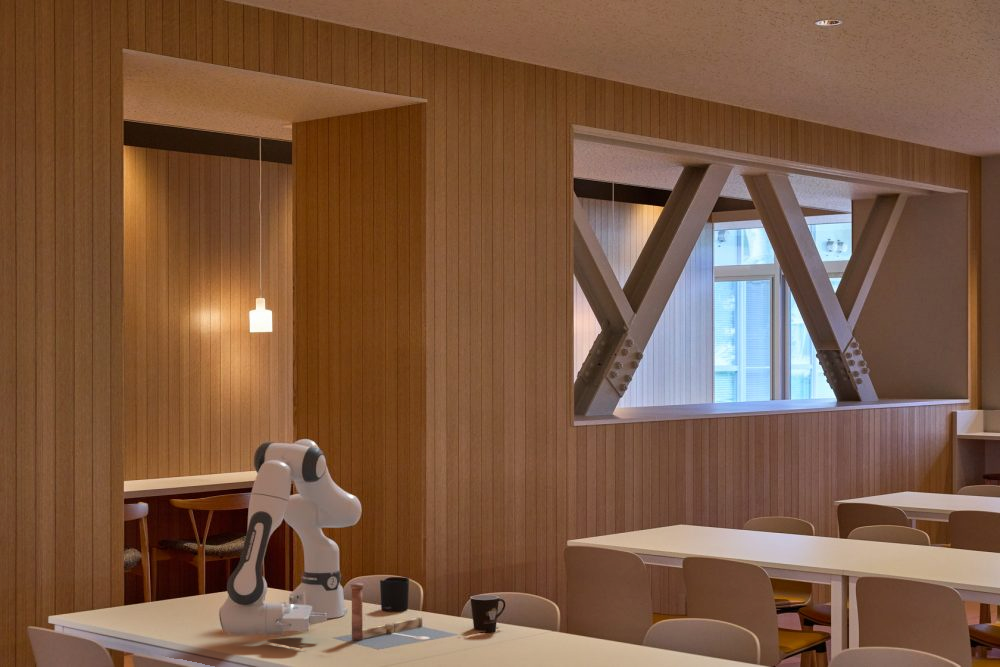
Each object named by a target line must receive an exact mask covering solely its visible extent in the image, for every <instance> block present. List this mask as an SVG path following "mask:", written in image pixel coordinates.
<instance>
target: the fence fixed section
mask: <svg viewBox="0 0 1000 667" xmlns="http://www.w3.org/2000/svg"><path fill="white" fill-rule="evenodd" d="M384 625H386V634H391V633H394V632H397V631H402V630H406V629H411V628H415V627H423V617H415V618H411V619H405V620H402V621H396V622H393V623H385V624H384Z"/></svg>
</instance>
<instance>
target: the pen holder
mask: <svg viewBox="0 0 1000 667" xmlns="http://www.w3.org/2000/svg"><path fill="white" fill-rule="evenodd" d="M379 582H380V583H379V584H380V587H379V588H380V606H381V607H380V608H381V610H382V612H387V613H399V612H405V611H408V609H409V592H410V591H409V590H410V589H409V588H410V579H409V578H408V577H405V576H401V577H400V576H390V577H387V578H385V579H383V580H382V579H380V580H379Z"/></svg>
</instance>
